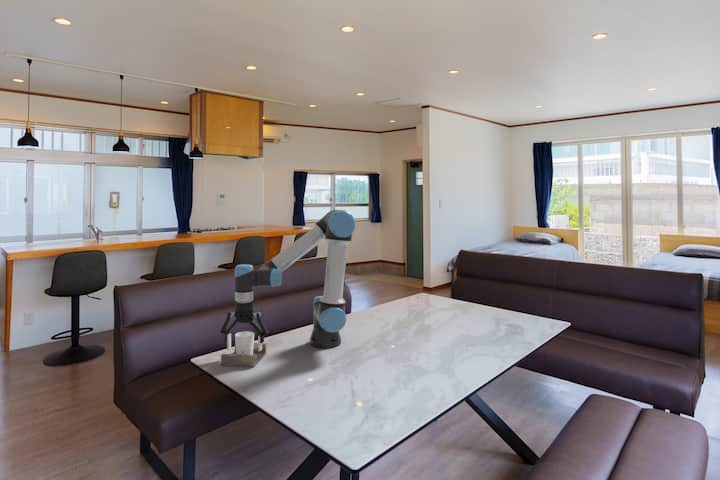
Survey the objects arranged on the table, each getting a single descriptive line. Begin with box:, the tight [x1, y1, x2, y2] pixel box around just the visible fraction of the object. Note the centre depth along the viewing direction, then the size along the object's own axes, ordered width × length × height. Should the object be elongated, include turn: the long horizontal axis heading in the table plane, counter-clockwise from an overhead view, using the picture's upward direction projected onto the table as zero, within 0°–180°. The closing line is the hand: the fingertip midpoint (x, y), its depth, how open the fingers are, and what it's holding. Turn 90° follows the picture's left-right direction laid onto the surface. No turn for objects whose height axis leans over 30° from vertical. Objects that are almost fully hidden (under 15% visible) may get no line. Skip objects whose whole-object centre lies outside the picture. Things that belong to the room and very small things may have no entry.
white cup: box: [234, 330, 255, 355], centre depth 174 cm, size 8×8×10 cm
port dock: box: [220, 342, 267, 368], centre depth 175 cm, size 14×16×4 cm
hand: (244, 349), depth 175 cm, fingers open, 13 cm apart
